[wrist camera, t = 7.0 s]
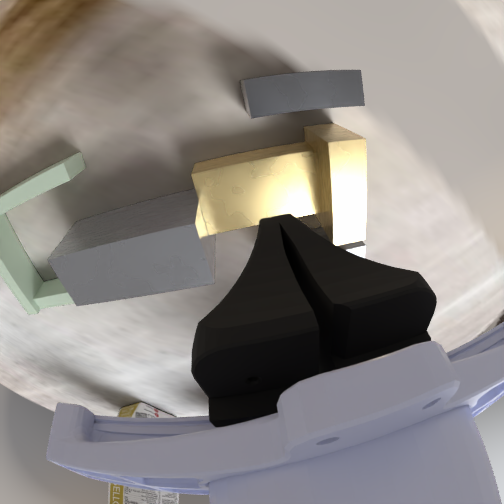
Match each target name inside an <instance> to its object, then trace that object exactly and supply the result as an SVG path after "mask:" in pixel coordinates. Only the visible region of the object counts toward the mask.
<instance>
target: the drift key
mask: <svg viewBox="0 0 504 504" xmlns="http://www.w3.org/2000/svg"><path fill="white" fill-rule="evenodd" d="M304 135H305V142H300V143H293V144H287V145H281V146H275V147H269V148H263V149H258V150H253V151H248V152H243V153H238V154H233V155H229V156H224V157H220V158H215V159H211V160H207V161H202V162H198V163H195V164H194V167H193V170H192V174H191V176H192V180H193V183H194V186H195V190H196V193H197V197H198V200H199V203H200V207H201V210H202V213H203V217H204V220H205V223H206V227H207V230H208V233H209V235H212V234H217V233H221V232H226V231H231V230H235V229H240V228H245V227H250V226H255V225H259V221H260V220H261V219H262V218H267V217H272V216H277V215H282V214H287V213H291V214H292V215H293V216H295V217H300V216H305V215H310V214H315V216H316V217H317V219H318V220H319V222H320V224H321V225H322V227H323V229H324V231H325V232H326V234H327V236H328V237H329V239H330V241H331V242H332V243H333V244H335V245H336V246H338V245H342V244H347V243H352V242H356V241H361V240H365V231H366V202H367V165H366V139H365V138H363V137H361V136H359V135H357V134H355V133H353V132H351V131H349V130H347V129H345V128H343V127H341V126H339V125H337V124H334V123H330V124H321V125H312V126H304Z"/></svg>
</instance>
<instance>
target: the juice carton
mask: <svg viewBox="0 0 504 504" xmlns="http://www.w3.org/2000/svg"><path fill="white" fill-rule="evenodd" d="M117 417H131V418H175V417H174V416H172V415H170V414H167V413H165V412H162V411H160V410H158V409H156V408H154V407H152V406H150V405H147V404H145V403H143V402H140V403H136V404H133V405H129V406H126V407H122V408H121V409H120V410H119V413H118V416H117ZM108 504H179V493H171V492H161V491H154V490H147V489H140V488H134V487H128V486H123V485H118V484H113V483H109V493H108Z"/></svg>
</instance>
